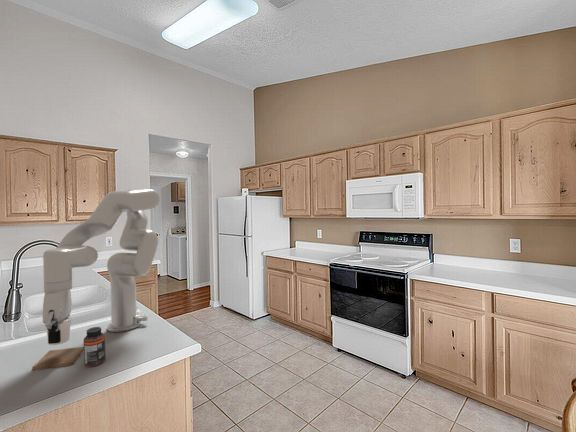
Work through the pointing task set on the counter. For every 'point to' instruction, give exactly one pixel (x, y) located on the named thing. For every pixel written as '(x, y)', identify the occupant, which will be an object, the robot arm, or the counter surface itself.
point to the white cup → (63, 330)
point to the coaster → (59, 358)
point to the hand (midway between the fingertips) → (59, 338)
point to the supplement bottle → (94, 347)
